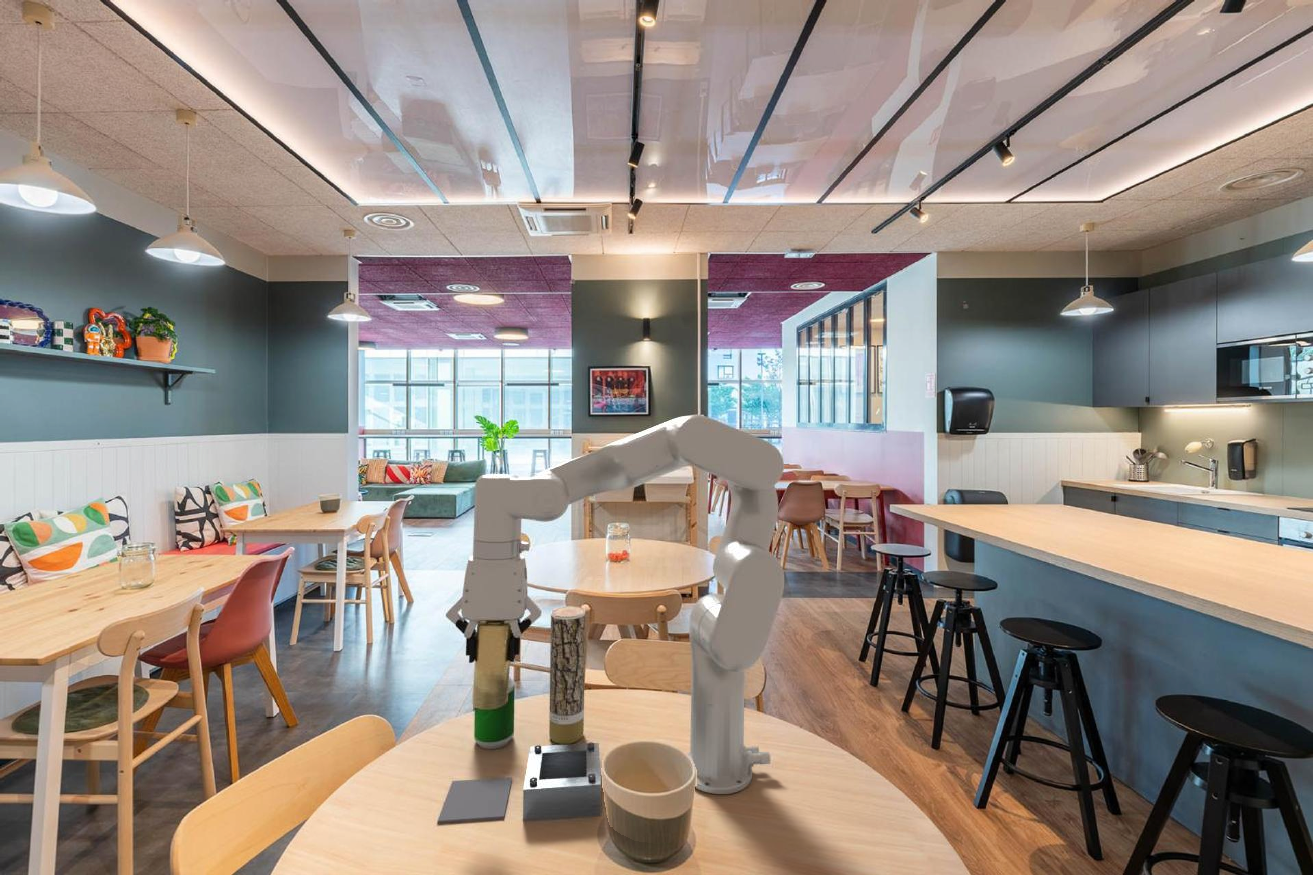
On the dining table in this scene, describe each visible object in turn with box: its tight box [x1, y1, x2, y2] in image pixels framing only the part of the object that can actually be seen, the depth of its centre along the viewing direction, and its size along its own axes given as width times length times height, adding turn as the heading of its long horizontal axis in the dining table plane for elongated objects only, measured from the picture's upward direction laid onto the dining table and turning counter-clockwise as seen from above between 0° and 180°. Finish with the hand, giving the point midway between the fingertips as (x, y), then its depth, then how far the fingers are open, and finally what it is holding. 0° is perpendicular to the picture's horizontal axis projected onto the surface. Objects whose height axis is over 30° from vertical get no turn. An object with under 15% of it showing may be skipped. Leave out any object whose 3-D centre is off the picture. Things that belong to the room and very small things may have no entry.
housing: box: [522, 741, 602, 822], centre depth 93 cm, size 12×12×6 cm
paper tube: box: [548, 605, 586, 745], centre depth 111 cm, size 7×7×25 cm
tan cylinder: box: [471, 621, 512, 710], centre depth 92 cm, size 6×6×13 cm
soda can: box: [473, 675, 516, 750], centre depth 109 cm, size 8×8×12 cm
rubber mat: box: [436, 776, 513, 824], centre depth 92 cm, size 10×10×1 cm
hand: (492, 658), depth 92 cm, fingers closed on tan cylinder, 5 cm apart
